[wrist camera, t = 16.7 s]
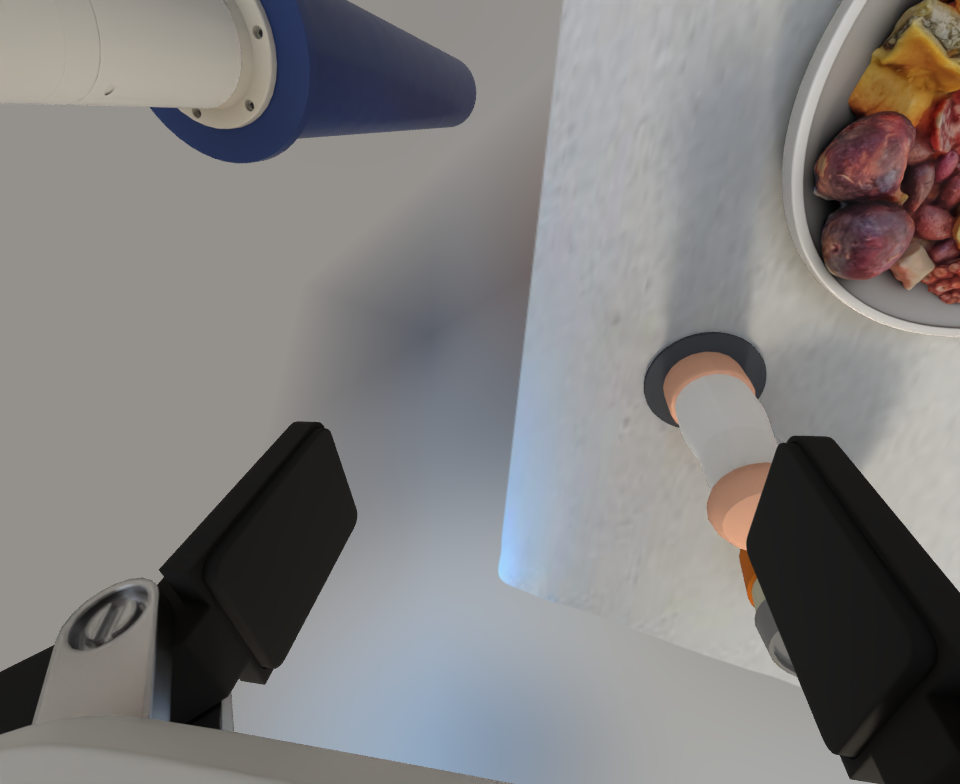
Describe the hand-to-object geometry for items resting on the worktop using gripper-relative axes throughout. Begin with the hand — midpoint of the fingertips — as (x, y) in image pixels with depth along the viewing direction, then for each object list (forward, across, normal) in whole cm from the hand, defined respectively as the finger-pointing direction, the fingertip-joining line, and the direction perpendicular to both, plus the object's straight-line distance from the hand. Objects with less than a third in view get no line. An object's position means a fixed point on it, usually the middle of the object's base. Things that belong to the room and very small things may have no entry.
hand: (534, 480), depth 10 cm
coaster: (+33, -14, +17) cm, 40 cm away
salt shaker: (+33, -14, +17) cm, 40 cm away
